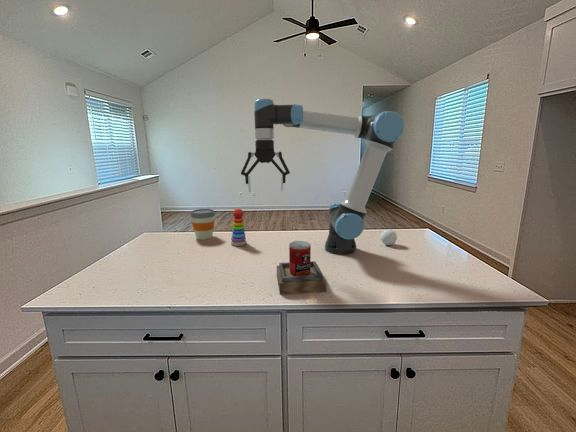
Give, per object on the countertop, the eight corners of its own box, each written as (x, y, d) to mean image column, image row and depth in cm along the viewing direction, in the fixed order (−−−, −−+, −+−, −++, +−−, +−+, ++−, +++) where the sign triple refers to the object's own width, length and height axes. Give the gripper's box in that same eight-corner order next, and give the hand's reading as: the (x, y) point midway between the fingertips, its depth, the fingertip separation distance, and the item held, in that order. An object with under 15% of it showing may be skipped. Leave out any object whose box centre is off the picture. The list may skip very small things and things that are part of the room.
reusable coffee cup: (189, 236, 172) (187, 210, 169) (210, 232, 179) (208, 207, 176) (197, 241, 162) (195, 214, 159) (219, 237, 170) (217, 211, 166)
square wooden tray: (316, 273, 121) (317, 260, 119) (325, 291, 105) (326, 276, 104) (276, 275, 119) (276, 262, 118) (279, 294, 104) (279, 279, 102)
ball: (379, 246, 153) (380, 230, 151) (380, 241, 160) (381, 227, 158) (396, 248, 150) (397, 232, 148) (397, 243, 157) (398, 228, 155)
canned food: (296, 278, 106) (296, 248, 104) (285, 271, 113) (285, 242, 111) (314, 274, 110) (315, 245, 107) (303, 267, 117) (303, 239, 114)
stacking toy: (243, 246, 154) (242, 210, 150) (228, 245, 155) (226, 210, 151) (248, 242, 161) (247, 207, 157) (234, 241, 163) (232, 207, 159)
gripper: (293, 139, 129) (294, 189, 133) (234, 140, 126) (236, 190, 131) (296, 139, 121) (296, 192, 126) (232, 139, 119) (235, 193, 124)
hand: (265, 191), depth 129 cm, fingers open, 13 cm apart
